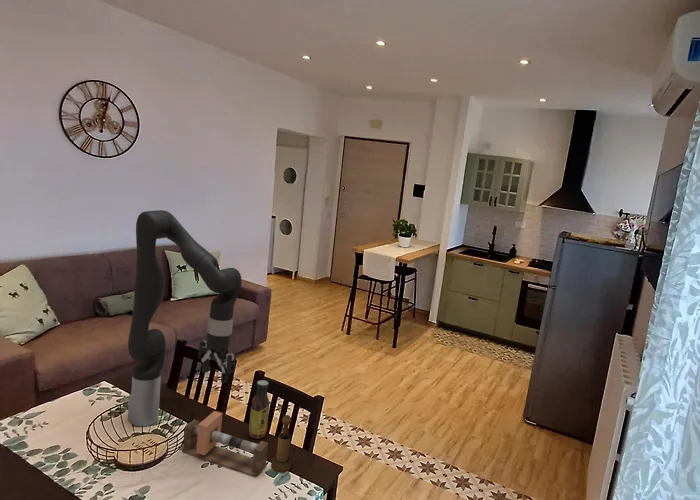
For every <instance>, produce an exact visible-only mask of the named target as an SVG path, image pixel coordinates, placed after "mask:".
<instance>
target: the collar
mask: <svg viewBox="0 0 700 500" xmlns="http://www.w3.org/2000/svg"><path fill="white" fill-rule="evenodd" d="M222 421H223V412H220V411H215V410H214V411H212V412H211V413H210V414H209V415H208V416H207V417H205V418H204V419H203V420H202V421H200V423H199V424H198V437H197V451H196V453H199V454H202V455H206V454H207V453H208V452H209V451H210V450H211V449H212V448H213V447H214V446H217V444H218V443H219V442H216V441H213V440H210V432H211V431H212V430H215V431H218V432H221V433H222V424H223V423H222Z"/></svg>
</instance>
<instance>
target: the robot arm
mask: <svg viewBox="0 0 700 500" xmlns="http://www.w3.org/2000/svg"><path fill="white" fill-rule="evenodd" d="M135 223H136V225H135V240H136V241H135V243H136V264H135V266H136V267H135V268H136V269H135V270H136V271H135V278H134V291H133V293H134V294H133V308H132V309H133V310H132V318H131V324H130V330H129V333H128V334H129V335H128V342H127V349H128V354H129V356H130V358H131V360H134V361H135V362H138V363H136V364H135V365H134V366H133V368H132V375H131V393H130V394H129V395H128V407H127V420H128V421H130V423H131V424H132V425H133V426H136V427H148V426H152V425H154V424H155V423H157V422H158V420H159V415H160V414H159V413H160V397H161V395H160V394H161V379H162V378H161V375H162V370H163V368H164V365H165V355H166V347H167V346H166V344H167V343H166V337H165V335H164V333H163V332H162V330H160V329H159V328H151V329H149V327H150V324H151V320H152V319H153V317H154V315H155V313H156V312H157V311H158V309H159V308H160V307H159V306H160V305H161V303H162V301H163V300H164V296H165V286H166V277H165V273H164V271H163V269H162V267H161V265H160V263H159V261H158V259H157V255H156V247H157V246H156V245H157V240H160V239H168V240H169V241H171V242H173V243H174V244H175V245H176V246H177V247H178V249H179V251H180V255H181V257H182V260H183V261H184V262H185V264H187V265H188V266H189V267H190V268H191V269H193V271H195V272H196V273H197V274H199V276H200V278H201V279H202V281H203V282H204V284H205V285H206V287H207V288H208V289H209V290H210V291H211V292H212V293H213V292H214V293H215V294H218V295H217V296H216V297H214V298H213V299H212V300H211V302H210V311H209V317H208V321H207V329H206V339H205V340H201V341H199V347H198V354H197V358H198V359H201V363H202V364H201V373H203V374H206V373H209V372H210V371H209V370H210V362H211V361H210V360H212V361H214V362H216V363H217V366H218V367H220V370H221V373H220V375H221V376H220V384H225V383H228V381H229V378H230V377H229V376H230V373H233V372H235V371H236V361H237V355H236V353H230V351H229V347H230V345H231V341H232V335H233V334H232V333H233V326H234V325H233V323H234V322H233V320H234V319H233V318H234V306H235V304H236V301H237V299H238V297H239V294H240V291H241V287H242V282H243V281H242V275H241V273H240V271H239V270H238V269H237V268H235V267H227V268H226V267H225V268H222V269H218V266H219V261H218V259H217V258H216V257H215V256H214V255H213V254H212V253H211V252H209V251H208V250H207V249H206V248H204V247H203V246H202V245H201V244H200V243H198V242H197V241H196V240H195V239H194V238H193V237H192V236H191V234H190V233H189V232H188V231H187V230H186V229H185V227H184V226H182V224H181V223H180V221H179V220H178V219H177V218H176V217H175V215H173V214H172V213H171V212H170V211H167V210H163V209H162V210H161V209H160V210H159V209H158V210H146V211H142V212H140V214H139V215H138V216H137V219H136V222H135ZM223 361H224V362H223Z"/></svg>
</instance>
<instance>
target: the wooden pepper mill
mask: <svg viewBox="0 0 700 500" xmlns="http://www.w3.org/2000/svg"><path fill="white" fill-rule="evenodd" d="M281 423H282V425H283V427H281V432H280V433H279V434H278V438H277V447H276V454H275V455H274V456H273V457H272V459H271V462H270V468H271V470H272V469H273V470H272V471H274V472H275V471H276V472H275V473H278V472H281V474H285V473H288V472H290V471H291V469H292V466H293V459H292V457H291V456H290V446H291V439H292V437H291V436H292V435H291V433H289V432H290V428H289V426H290V424H291V423H292V417H291V416H290V415H288V414H285V415H283V417H281ZM282 472H283V473H282ZM284 472H285V473H284Z"/></svg>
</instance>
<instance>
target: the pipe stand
mask: <svg viewBox="0 0 700 500" xmlns="http://www.w3.org/2000/svg"><path fill="white" fill-rule="evenodd" d="M199 423H201V421H200V420H197V419H192V421H190V422H189V423H188V424H187V425H185V426H184V434H183V448H182V450H181V453H182V454H185V455H188V456H191V457H193V458H197V459H200V460H203V461H204V462H205V461H206V462H208V463H210V464H211V463H212V464H214V465H217V466H220V467H224V468H227V469H228V470H232V471H236V472H238V473H241V474H244V475H246V476H250V477H253V478H255V477H259V476H260V475H261V473H262V472H263V471H264V470H265V468H267V464H268V463H267V459H268V450H269V442H266V441H263V440H261V441H260V442H259V443H255V442H252V441H249V440H246V439H243V438H240V437H237V436H234V435H231V434H227V433H224V432H222V431H221V432H218V431H215V430H212V431H211V432H210V440H213V441H216V442H218V443H219V444H223V445H225V446H228V447H230V448H231V447H232V448H235V449H239V450H241V451H244V452H248V453H250V454H252V455H253V456H252V457H251V456H247V455H244V454H242V453H239V452H237V451H236V452H235V451H232V450H230V449H225V448H223V447H221V446H217V445H215V446H214V447H213V448H212V449H211V450H210V451H209V452H208V453H207V454H206V455H202V454H199V453H196V451H197V437H198V424H199ZM263 469H264V470H263Z"/></svg>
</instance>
